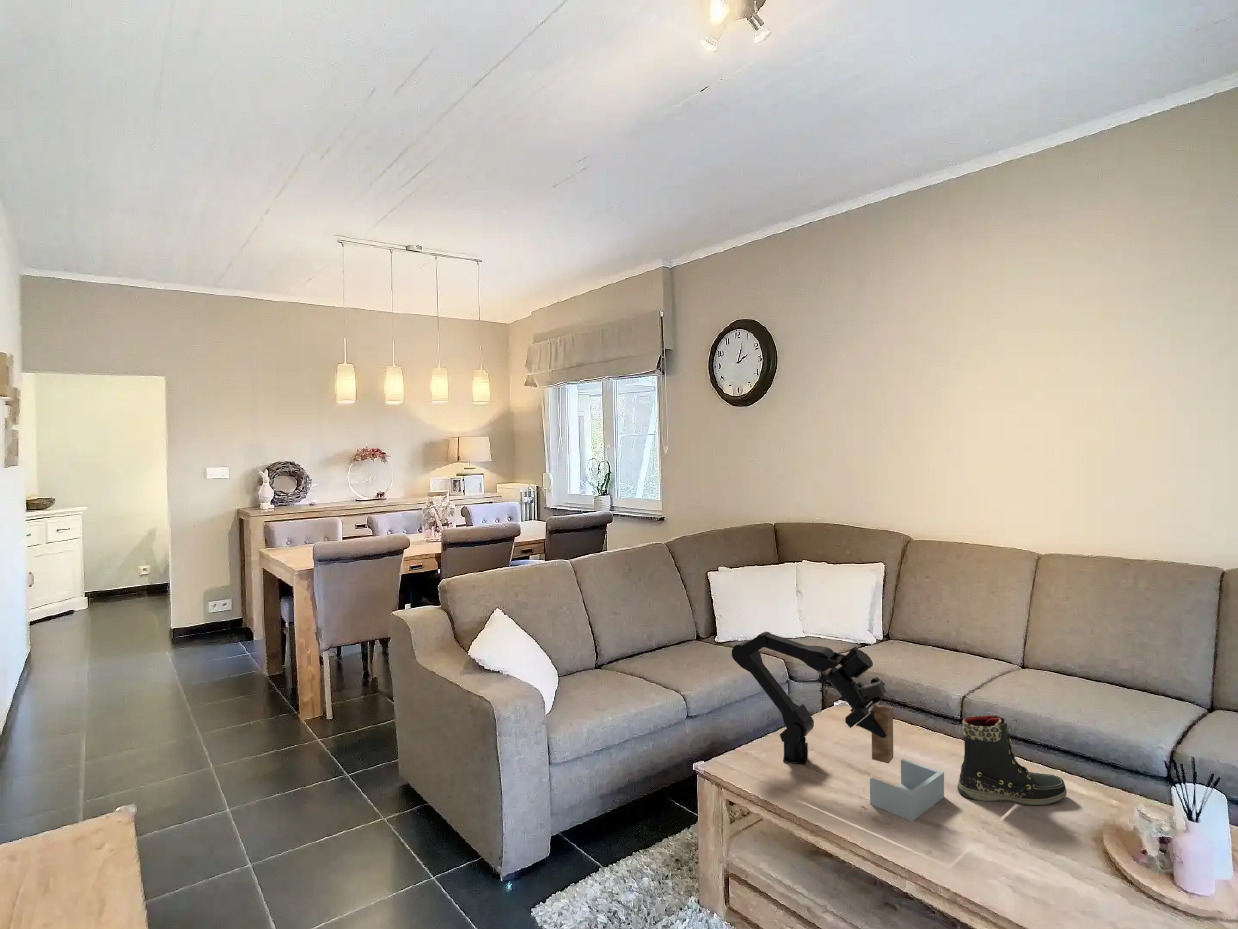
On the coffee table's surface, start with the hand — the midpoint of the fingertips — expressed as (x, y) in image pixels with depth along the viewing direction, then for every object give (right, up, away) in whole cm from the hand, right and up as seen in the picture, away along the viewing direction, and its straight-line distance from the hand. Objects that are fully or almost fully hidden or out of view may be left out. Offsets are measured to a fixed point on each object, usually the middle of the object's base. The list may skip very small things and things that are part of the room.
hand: (887, 734), depth 190 cm
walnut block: (-1, -7, +1) cm, 7 cm away
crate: (+1, -14, -9) cm, 17 cm away
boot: (+30, -14, -8) cm, 34 cm away
